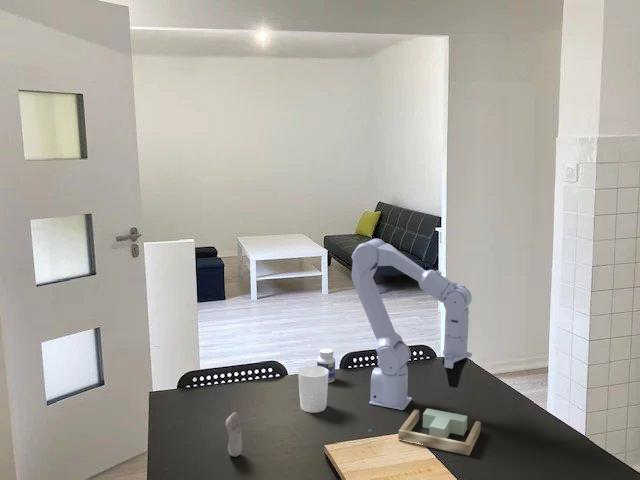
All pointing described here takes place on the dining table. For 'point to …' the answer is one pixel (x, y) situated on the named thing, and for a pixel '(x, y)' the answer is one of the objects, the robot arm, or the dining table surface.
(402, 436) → the dock
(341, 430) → the dining table surface
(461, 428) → the tee
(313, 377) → the white cup
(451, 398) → the dining table surface
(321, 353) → the pill bottle
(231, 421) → the fossil
